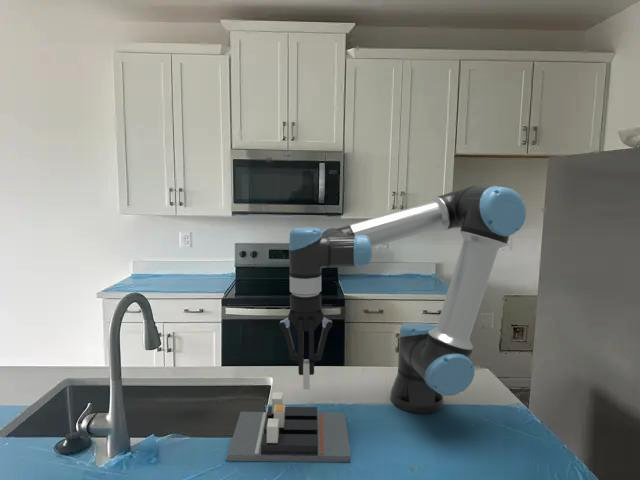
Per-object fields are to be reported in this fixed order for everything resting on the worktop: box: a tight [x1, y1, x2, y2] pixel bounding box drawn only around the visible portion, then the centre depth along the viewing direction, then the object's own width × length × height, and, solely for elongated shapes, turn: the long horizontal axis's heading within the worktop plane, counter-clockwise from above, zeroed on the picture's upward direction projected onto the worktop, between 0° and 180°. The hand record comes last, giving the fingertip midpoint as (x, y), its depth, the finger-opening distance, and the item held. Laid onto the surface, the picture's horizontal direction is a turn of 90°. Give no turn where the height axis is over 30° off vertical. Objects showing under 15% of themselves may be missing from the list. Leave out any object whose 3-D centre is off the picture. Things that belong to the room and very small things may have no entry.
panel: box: [226, 405, 352, 463], centre depth 110 cm, size 28×19×4 cm
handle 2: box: [267, 418, 279, 443], centre depth 103 cm, size 2×4×4 cm
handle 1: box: [271, 392, 284, 414], centre depth 116 cm, size 2×4×4 cm
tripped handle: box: [274, 404, 286, 428], centre depth 109 cm, size 2×4×4 cm
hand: (306, 386), depth 109 cm, fingers closed
